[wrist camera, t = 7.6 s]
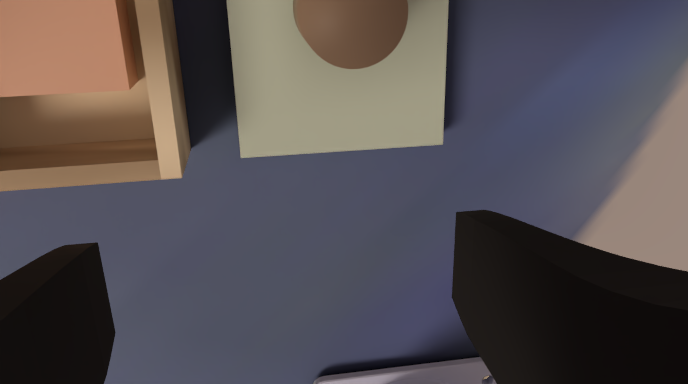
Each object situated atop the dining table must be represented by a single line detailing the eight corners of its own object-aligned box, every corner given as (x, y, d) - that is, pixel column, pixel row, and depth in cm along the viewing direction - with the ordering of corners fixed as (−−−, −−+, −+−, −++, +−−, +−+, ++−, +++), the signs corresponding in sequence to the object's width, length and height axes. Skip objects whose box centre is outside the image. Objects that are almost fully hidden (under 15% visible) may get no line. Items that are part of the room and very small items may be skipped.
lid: (432, 134, 22) (468, 168, 18) (241, 146, 21) (239, 184, 17) (441, -156, 18) (489, -187, 15) (213, -158, 17) (204, -190, 14)
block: (138, 81, 19) (129, 89, 17) (4, 88, 18) (-16, 97, 17) (117, -56, 17) (105, -58, 16) (-29, -53, 17) (-54, -54, 15)
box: (191, 149, 20) (181, 177, 17) (-14, 162, 19) (-58, 195, 16) (153, -150, 17) (135, -173, 14) (-95, -149, 16) (-167, -174, 13)
